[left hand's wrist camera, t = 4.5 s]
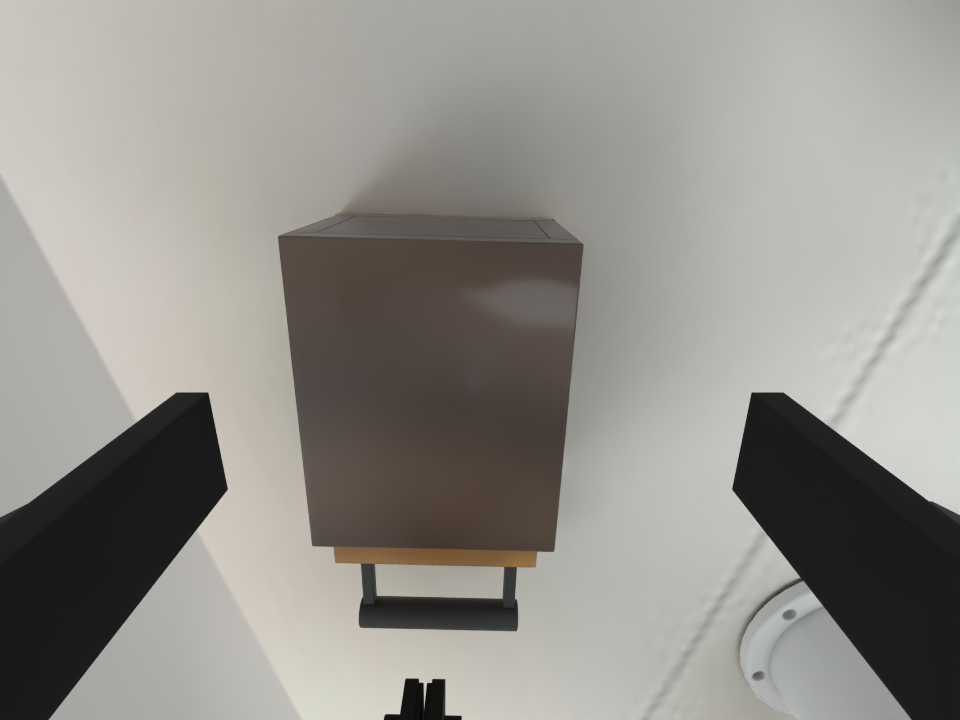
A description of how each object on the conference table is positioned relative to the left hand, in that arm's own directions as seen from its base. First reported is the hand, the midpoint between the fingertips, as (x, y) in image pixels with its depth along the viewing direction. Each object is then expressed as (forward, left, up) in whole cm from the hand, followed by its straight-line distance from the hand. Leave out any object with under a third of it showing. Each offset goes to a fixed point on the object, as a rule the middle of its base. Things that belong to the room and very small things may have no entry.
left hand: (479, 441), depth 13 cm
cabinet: (+1, -3, -15) cm, 16 cm away
